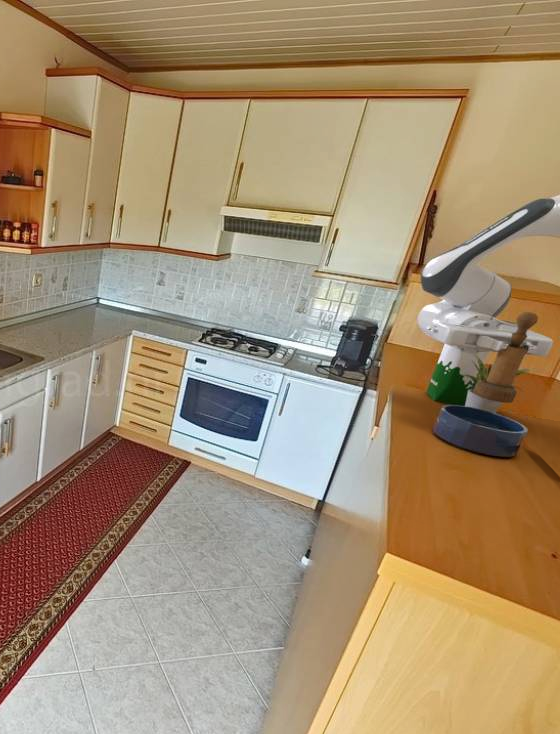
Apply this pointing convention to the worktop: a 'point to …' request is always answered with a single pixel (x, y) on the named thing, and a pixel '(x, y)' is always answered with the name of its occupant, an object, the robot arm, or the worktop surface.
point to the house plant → (481, 402)
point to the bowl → (479, 430)
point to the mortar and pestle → (507, 364)
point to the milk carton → (454, 375)
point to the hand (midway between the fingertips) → (517, 348)
